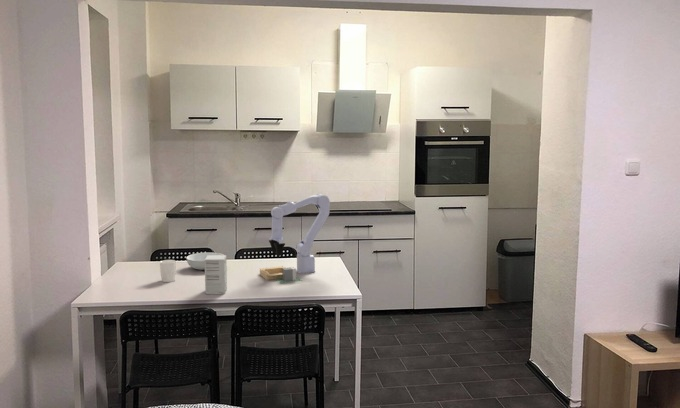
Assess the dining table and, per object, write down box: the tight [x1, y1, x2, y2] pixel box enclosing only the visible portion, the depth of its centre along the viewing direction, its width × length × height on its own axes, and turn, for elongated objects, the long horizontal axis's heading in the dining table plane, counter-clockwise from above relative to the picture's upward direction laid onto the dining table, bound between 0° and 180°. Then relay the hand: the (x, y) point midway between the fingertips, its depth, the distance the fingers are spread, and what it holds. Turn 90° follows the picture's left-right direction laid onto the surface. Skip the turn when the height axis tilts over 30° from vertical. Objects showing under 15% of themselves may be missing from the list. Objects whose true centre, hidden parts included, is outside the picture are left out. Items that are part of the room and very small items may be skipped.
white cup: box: [159, 259, 177, 283], centre depth 288 cm, size 8×8×10 cm
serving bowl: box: [185, 252, 224, 271], centre depth 315 cm, size 21×21×7 cm
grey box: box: [282, 266, 297, 281], centre depth 288 cm, size 6×4×6 cm
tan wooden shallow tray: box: [259, 265, 287, 281], centre depth 297 cm, size 14×17×3 cm
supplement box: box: [204, 254, 228, 295], centre depth 267 cm, size 10×9×17 cm
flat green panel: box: [274, 276, 303, 284], centre depth 288 cm, size 12×9×1 cm
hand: (276, 254), depth 302 cm, fingers open, 7 cm apart
